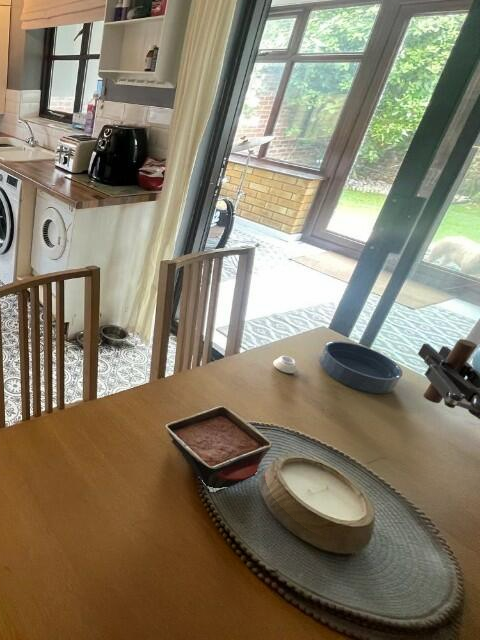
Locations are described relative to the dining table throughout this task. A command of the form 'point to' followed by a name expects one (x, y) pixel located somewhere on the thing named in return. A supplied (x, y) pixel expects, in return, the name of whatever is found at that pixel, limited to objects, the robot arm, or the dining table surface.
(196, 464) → the baking dish
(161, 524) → the dining table surface
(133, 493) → the dining table surface
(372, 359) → the bowl
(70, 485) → the dining table surface
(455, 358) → the stirring stick
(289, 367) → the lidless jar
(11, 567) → the dining table surface
